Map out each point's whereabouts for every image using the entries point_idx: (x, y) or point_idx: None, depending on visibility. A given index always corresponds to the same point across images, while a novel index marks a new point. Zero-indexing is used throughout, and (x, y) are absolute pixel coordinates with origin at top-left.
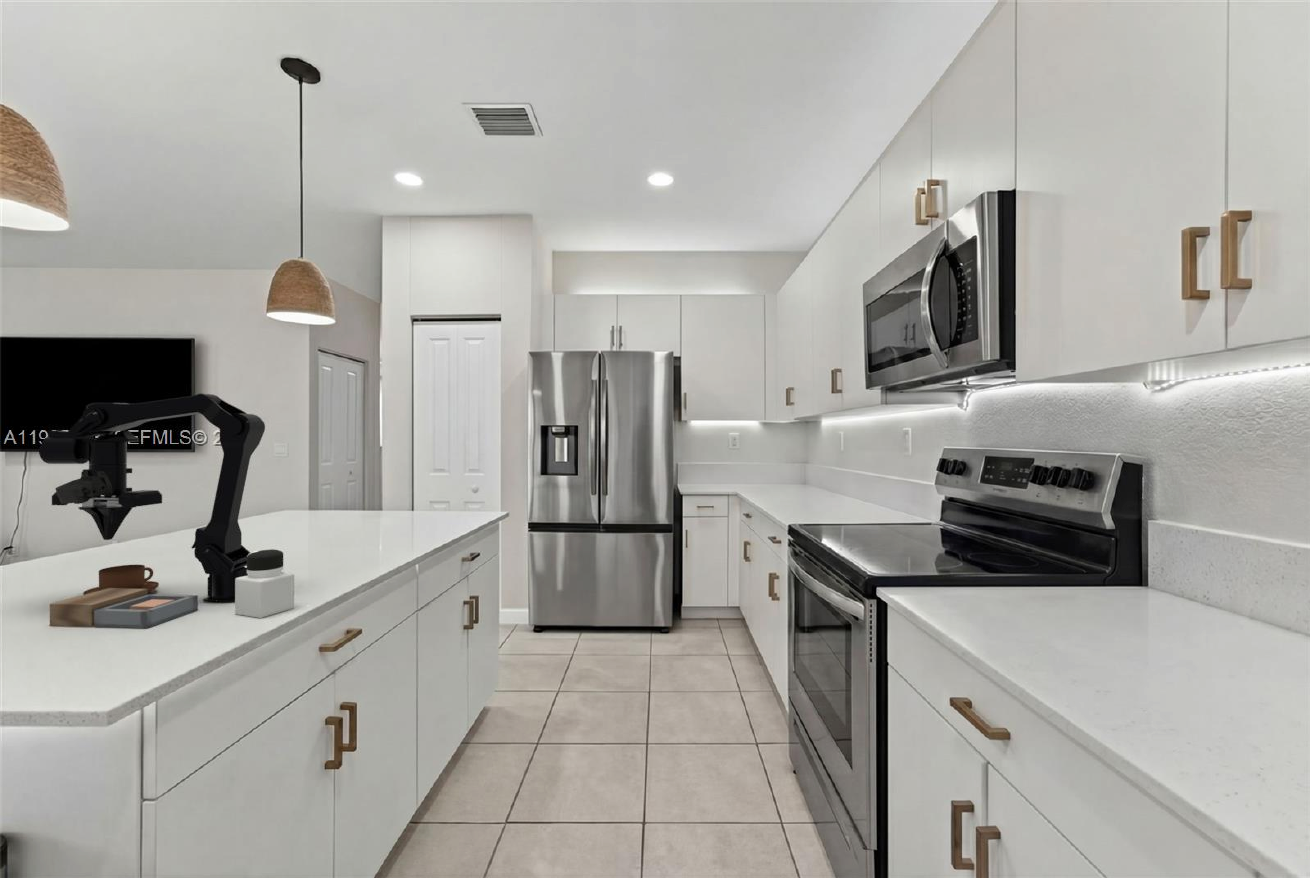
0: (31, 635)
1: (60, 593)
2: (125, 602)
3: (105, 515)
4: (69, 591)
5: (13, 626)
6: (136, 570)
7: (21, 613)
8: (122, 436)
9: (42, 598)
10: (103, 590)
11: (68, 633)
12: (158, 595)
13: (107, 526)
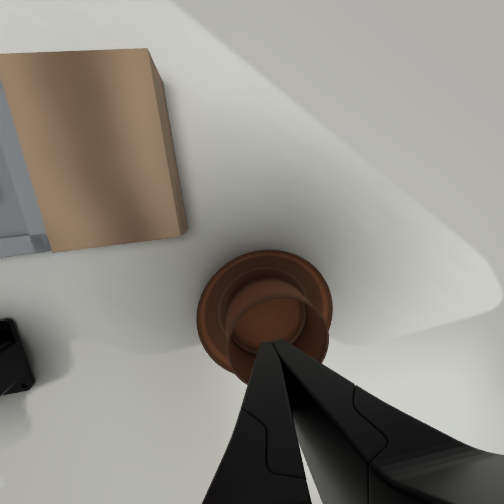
0: (117, 5)
1: (408, 292)
2: (14, 160)
3: (269, 498)
4: (406, 308)
5: (244, 67)
6: (226, 347)
7: (335, 157)
8: None
9: (406, 256)
10: (166, 211)
11: (42, 32)
12: (8, 243)
13: (253, 394)
